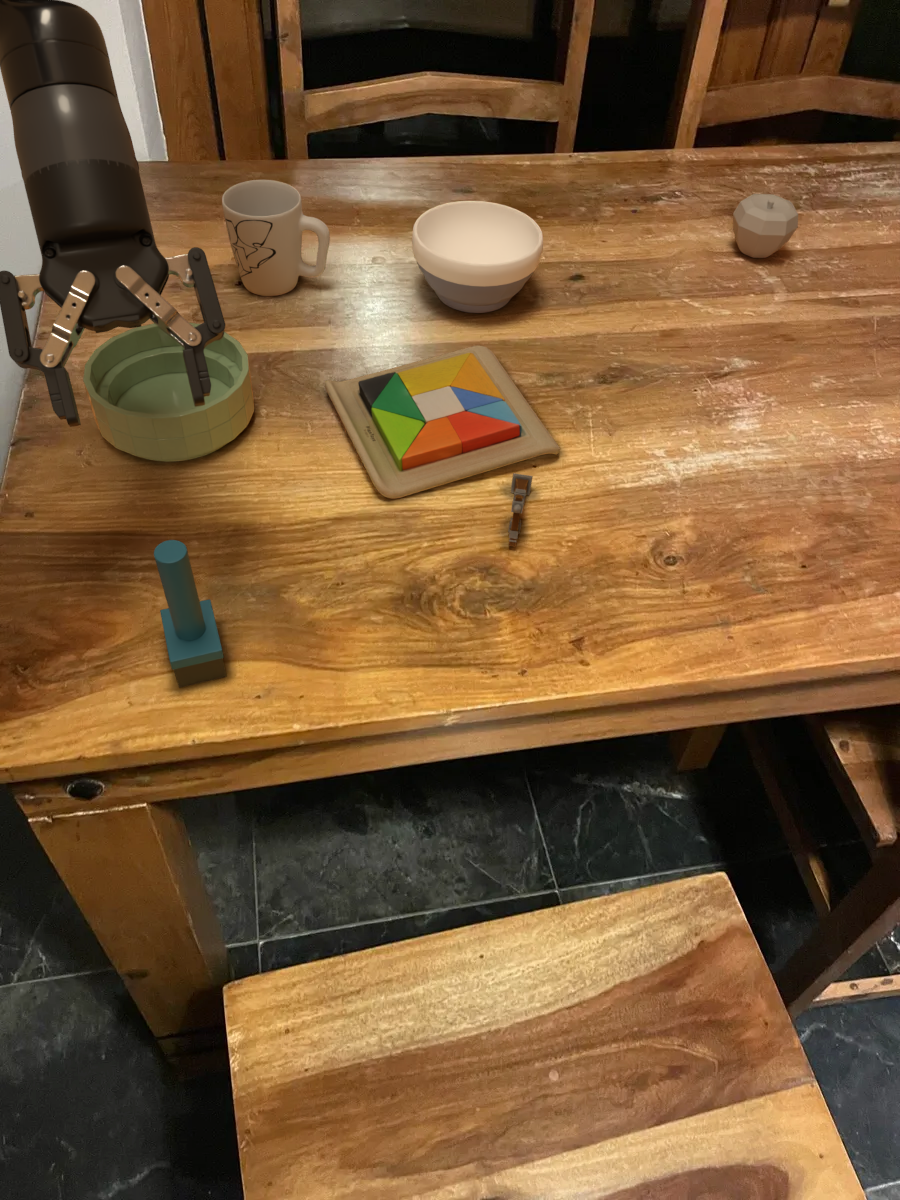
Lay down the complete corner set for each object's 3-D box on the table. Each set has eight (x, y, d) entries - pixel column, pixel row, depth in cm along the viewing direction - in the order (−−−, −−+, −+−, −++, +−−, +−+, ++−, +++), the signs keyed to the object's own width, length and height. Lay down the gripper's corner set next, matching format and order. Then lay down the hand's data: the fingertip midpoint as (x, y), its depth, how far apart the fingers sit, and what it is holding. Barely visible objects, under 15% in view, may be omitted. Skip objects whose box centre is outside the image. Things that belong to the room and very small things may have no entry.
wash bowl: (158, 492, 84) (145, 440, 80) (68, 415, 90) (51, 363, 86) (286, 421, 91) (281, 370, 87) (195, 355, 98) (185, 304, 93)
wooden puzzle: (321, 392, 95) (319, 362, 92) (491, 358, 100) (494, 329, 97) (377, 505, 84) (377, 476, 82) (563, 460, 90) (569, 432, 87)
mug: (340, 271, 110) (336, 187, 102) (323, 310, 104) (318, 225, 97) (245, 259, 110) (235, 175, 103) (223, 297, 105) (210, 211, 97)
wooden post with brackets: (500, 548, 80) (507, 498, 78) (506, 517, 87) (513, 471, 86) (521, 551, 80) (529, 502, 78) (525, 520, 87) (533, 473, 85)
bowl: (448, 248, 114) (451, 187, 108) (556, 284, 110) (565, 222, 104) (387, 304, 106) (387, 240, 100) (501, 344, 102) (508, 280, 96)
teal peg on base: (228, 677, 71) (204, 572, 62) (178, 690, 70) (146, 584, 61) (216, 627, 74) (192, 519, 65) (168, 638, 73) (136, 530, 64)
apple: (748, 272, 114) (764, 221, 109) (711, 241, 119) (725, 190, 114) (800, 261, 116) (818, 210, 112) (762, 231, 121) (778, 181, 116)
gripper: (-44, 166, 58) (21, 425, 60) (188, 144, 62) (243, 389, 63) (-18, 208, 65) (39, 438, 67) (188, 186, 69) (237, 405, 71)
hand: (138, 414), depth 65 cm, fingers open, 8 cm apart
